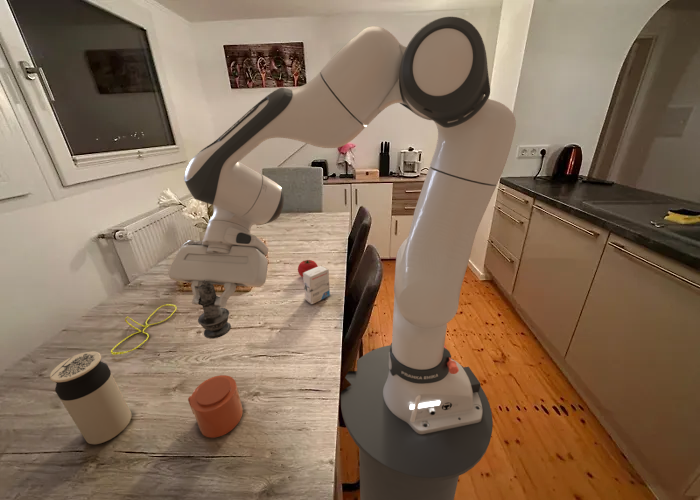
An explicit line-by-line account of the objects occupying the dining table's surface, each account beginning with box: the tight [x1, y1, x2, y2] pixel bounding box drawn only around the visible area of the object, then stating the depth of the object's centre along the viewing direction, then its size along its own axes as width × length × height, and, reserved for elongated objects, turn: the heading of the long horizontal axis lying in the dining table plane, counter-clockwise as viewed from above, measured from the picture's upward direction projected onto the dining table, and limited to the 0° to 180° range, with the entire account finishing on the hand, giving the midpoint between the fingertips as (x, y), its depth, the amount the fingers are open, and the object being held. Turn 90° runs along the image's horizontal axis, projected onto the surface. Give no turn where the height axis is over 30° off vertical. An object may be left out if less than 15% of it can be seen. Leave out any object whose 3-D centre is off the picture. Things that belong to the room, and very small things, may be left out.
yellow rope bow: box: [110, 303, 178, 356], centre depth 91 cm, size 25×10×5 cm, turn 178°
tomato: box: [297, 259, 319, 278], centre depth 121 cm, size 9×9×8 cm
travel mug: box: [49, 351, 132, 445], centre depth 58 cm, size 8×8×18 cm
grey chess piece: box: [197, 280, 232, 340], centre depth 56 cm, size 6×6×12 cm
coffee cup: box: [187, 374, 244, 439], centre depth 61 cm, size 10×9×9 cm
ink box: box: [302, 265, 331, 305], centre depth 104 cm, size 9×5×12 cm, turn 132°
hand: (208, 305), depth 56 cm, fingers closed on grey chess piece, 3 cm apart
